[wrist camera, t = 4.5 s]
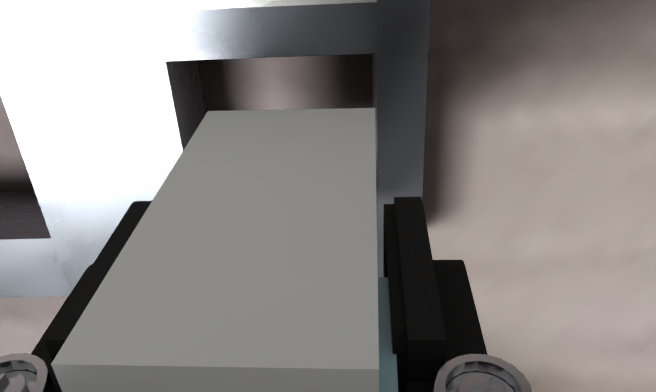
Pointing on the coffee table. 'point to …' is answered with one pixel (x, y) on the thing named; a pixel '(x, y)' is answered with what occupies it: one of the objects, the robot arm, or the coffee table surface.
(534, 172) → the coffee table surface
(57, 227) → the panel
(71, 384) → the plug
